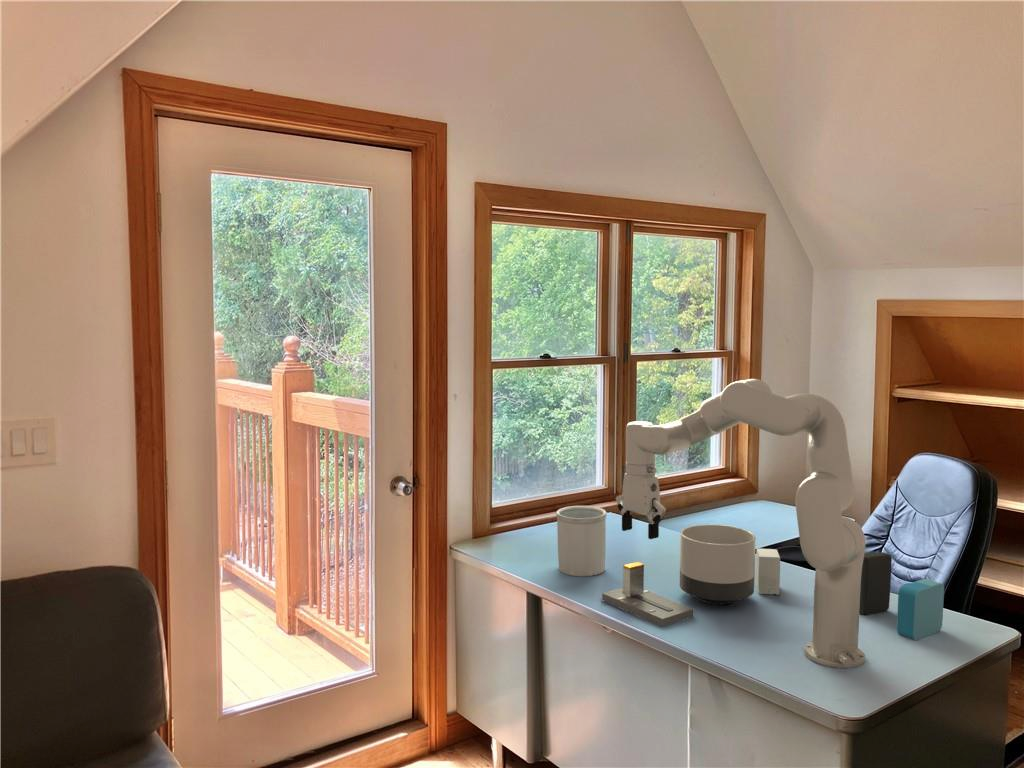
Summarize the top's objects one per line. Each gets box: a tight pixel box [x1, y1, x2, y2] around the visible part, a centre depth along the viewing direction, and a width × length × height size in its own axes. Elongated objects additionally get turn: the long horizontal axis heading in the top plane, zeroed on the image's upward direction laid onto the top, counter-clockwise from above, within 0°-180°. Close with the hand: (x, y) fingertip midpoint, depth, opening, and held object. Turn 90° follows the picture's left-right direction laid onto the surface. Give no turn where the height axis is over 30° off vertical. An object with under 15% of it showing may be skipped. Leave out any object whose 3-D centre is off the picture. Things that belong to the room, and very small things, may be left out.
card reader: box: [859, 551, 893, 616], centre depth 213 cm, size 9×4×15 cm, turn 111°
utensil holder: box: [555, 505, 607, 577], centre depth 246 cm, size 15×15×18 cm
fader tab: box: [622, 561, 645, 597], centre depth 219 cm, size 2×5×8 cm, turn 126°
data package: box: [896, 578, 945, 641], centre depth 199 cm, size 12×4×12 cm, turn 123°
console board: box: [601, 587, 695, 628], centre depth 216 cm, size 22×11×2 cm, turn 36°
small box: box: [755, 547, 781, 596], centre depth 229 cm, size 8×6×10 cm
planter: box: [679, 524, 756, 605], centre depth 222 cm, size 19×19×18 cm
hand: (639, 534), depth 218 cm, fingers open, 9 cm apart
